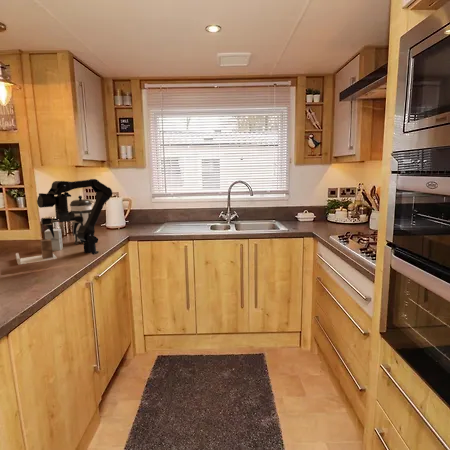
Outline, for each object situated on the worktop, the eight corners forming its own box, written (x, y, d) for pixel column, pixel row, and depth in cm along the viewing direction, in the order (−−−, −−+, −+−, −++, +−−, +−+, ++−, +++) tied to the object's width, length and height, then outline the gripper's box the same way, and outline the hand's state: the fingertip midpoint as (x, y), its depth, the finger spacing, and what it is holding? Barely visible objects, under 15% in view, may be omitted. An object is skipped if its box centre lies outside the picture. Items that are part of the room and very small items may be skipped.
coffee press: (65, 244, 202) (59, 196, 197) (86, 238, 216) (82, 194, 211) (83, 246, 194) (78, 196, 189) (104, 241, 208) (100, 194, 203)
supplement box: (46, 253, 179) (43, 231, 177) (49, 250, 186) (47, 229, 184) (60, 252, 181) (58, 230, 179) (63, 249, 188) (61, 228, 186)
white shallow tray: (53, 255, 174) (52, 248, 173) (57, 260, 164) (56, 252, 163) (16, 261, 164) (15, 253, 164) (18, 267, 154) (17, 258, 153)
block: (51, 255, 170) (50, 238, 168) (53, 257, 166) (51, 240, 165) (42, 257, 167) (40, 240, 166) (43, 258, 164) (41, 241, 162)
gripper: (42, 208, 150) (45, 241, 152) (84, 206, 160) (86, 236, 163) (39, 206, 159) (42, 237, 161) (80, 204, 169) (82, 233, 172)
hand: (63, 236), depth 164 cm, fingers open, 9 cm apart
